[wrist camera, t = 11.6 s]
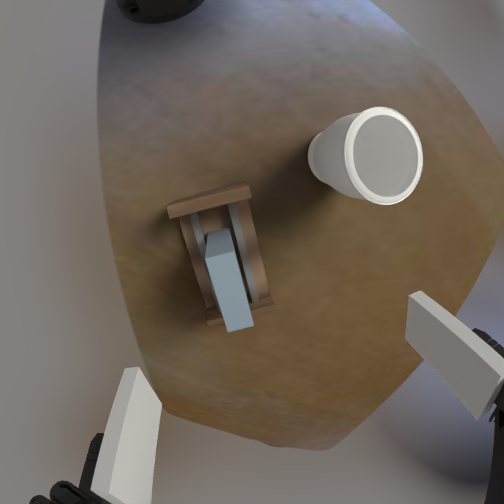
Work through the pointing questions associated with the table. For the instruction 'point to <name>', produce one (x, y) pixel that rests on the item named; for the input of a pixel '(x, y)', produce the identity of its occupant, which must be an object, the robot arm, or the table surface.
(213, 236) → the blue-gray rectangular block
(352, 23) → the table surface
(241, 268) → the wooden rod frame
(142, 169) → the table surface
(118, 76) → the table surface
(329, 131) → the jar
